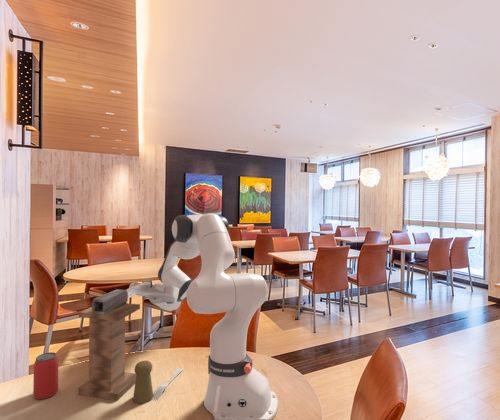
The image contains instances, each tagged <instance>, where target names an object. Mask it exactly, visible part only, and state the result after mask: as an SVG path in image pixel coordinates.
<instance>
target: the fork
mask: <svg viewBox="0 0 500 420" xmlns="http://www.w3.org/2000/svg"><path fill="white" fill-rule="evenodd" d="M183 371H184V368H180V367H178V368H177V369H175V371H174V373H173V374H172V375H171V377H170V378H169V380H168V381H167V382H166V383H165V384H159V385H158V386H157V387H156V389H155V391H154V392H153V398H152V400H151V401H155V402H158V401H159V398H160V397H161V396H162V394H163V392H164V390H165V389H166V388H167V387H168V385H169V384H171V382H172V381H173V380H174V379H175V378H176V377H177V376H178V375H179V374H180V373H182V372H183Z"/></svg>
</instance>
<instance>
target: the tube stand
mask: <svg viewBox="0 0 500 420" xmlns="http://www.w3.org/2000/svg"><path fill="white" fill-rule="evenodd" d="M128 300H129V298H128V292H127V290H126V289H115V290H111V291H110V292H108V293H105V294H102V295H100V296H97V297H95V298H93V299H92V301H91V306H90V307H88V308H86V309H83V310H81V311H79V312H78V317H79V318H85V319H89V322H88V324H89V328H88V330H89V331H88V333H89V335H88V339H89V340H88V380H87V381H86V382H84V383H83V384H82V385H80V386H79V387H77V395H79V396H85V397H93V398H99V399H104V400H105V399H106V400H111V401H119V400H120V399H121V398H122V397H123V396H124V395H125V394H126V393H127V392H128V391H129V390H130V389H131V388H132V387H134V386H135V382H136V373H135V372H134V373H132V372H127V371H125V370H126V369H125V366H126V365H125V359H126V357H125V355H126V354H125V352H126V348H125V347H126V317H128V316H130V315H132V314H133V313H135V312H137V311H138V310H139V311H140V309H141V304H140V303H128Z"/></svg>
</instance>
